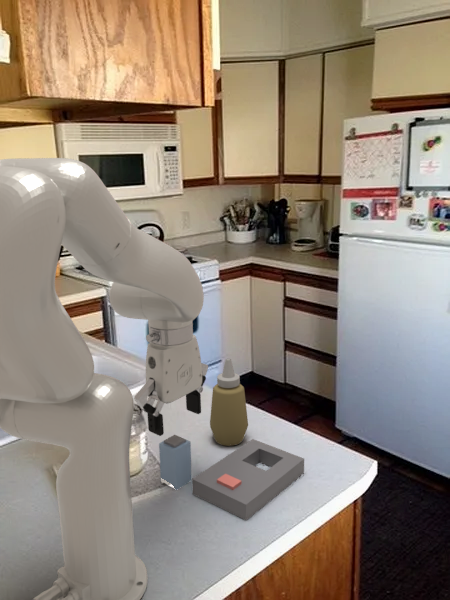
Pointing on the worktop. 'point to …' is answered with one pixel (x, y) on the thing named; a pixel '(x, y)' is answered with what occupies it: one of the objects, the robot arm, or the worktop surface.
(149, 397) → the robot arm
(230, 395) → the squeeze bottle
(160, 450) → the plug
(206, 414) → the worktop surface
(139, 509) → the worktop surface
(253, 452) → the power strip
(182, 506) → the worktop surface
